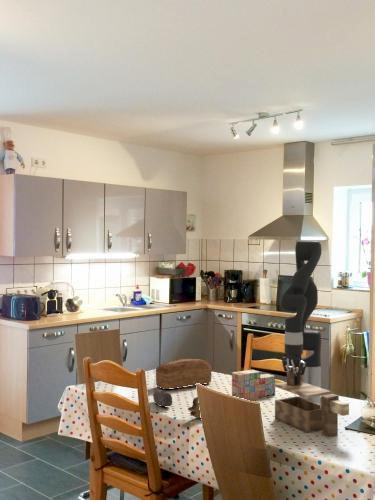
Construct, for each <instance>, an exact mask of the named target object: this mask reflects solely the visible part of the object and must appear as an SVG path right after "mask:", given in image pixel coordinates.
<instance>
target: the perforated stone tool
mask: <svg viewBox="0 0 375 500" xmlns="http://www.w3.org/2000/svg"><path fill="white" fill-rule="evenodd" d="M152 397H153V401H154V402H156V405H158V404H159V405H161V406H160V407H162V406H170V407H171V406H172V404H173V397H172V395H171V394H170V393H169V391H167V390H164V389H157V390H155V391H154V392H153V396H152ZM159 405H158V406H159Z"/></svg>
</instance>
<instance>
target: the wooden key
mask: <svg viewBox="0 0 375 500" xmlns="http://www.w3.org/2000/svg"><path fill="white" fill-rule="evenodd" d="M320 408H321V397H320ZM329 411H331V412H334V413H336V414H338V415H339V416H344V417H345V416H348V415H350V403H348V402H344V401H341V400H336V399H329Z"/></svg>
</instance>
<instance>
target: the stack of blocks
mask: <svg viewBox="0 0 375 500" xmlns="http://www.w3.org/2000/svg"><path fill="white" fill-rule="evenodd" d="M275 384H276V375H273V374H270V373H264V374H262V373H261V372H260V371H258V370H255V369H247V370H246V369H245V370H241V371H233V372H231V397H232V396H236V397H239V398H244V399H246V400H250V399H251V398H252V399H256V398H255V397H258V398H261V397H260V396H264V397H268V396H267V395H270V396H273V395H272V394H275V395H276V387H275Z"/></svg>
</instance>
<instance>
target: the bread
mask: <svg viewBox="0 0 375 500" xmlns="http://www.w3.org/2000/svg"><path fill="white" fill-rule="evenodd" d="M209 382H210V383H211V382H212V366H211V365H210V363H209V362H208V361H206V360H203V359H201V358H198V359H197V358H180V359H176V360H172V361H168V362H164V363H161V364H160V365H158V366H157V367H156V368H155V385H157V386H156V387H158V386H159V387H161V388H164V389H169V388H177V387H183V386H188V385H195V384H196V383H200V384H204V383H208V384H210V383H209ZM159 387H158V388H159ZM161 388H160V389H161ZM164 389H163V390H164Z"/></svg>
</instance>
